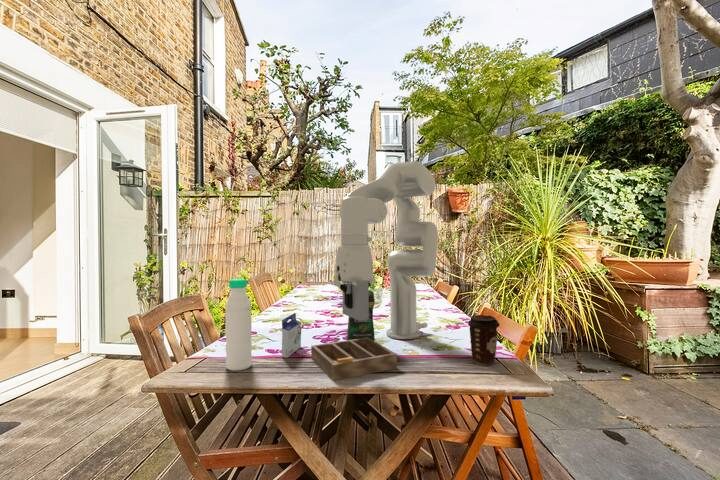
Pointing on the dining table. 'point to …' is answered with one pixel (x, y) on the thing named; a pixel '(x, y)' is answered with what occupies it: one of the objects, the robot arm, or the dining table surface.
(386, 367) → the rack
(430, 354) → the dining table surface
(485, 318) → the coffee cup
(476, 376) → the dining table surface
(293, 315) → the ink box
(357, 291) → the panel
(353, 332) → the coffee jar
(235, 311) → the water bottle
